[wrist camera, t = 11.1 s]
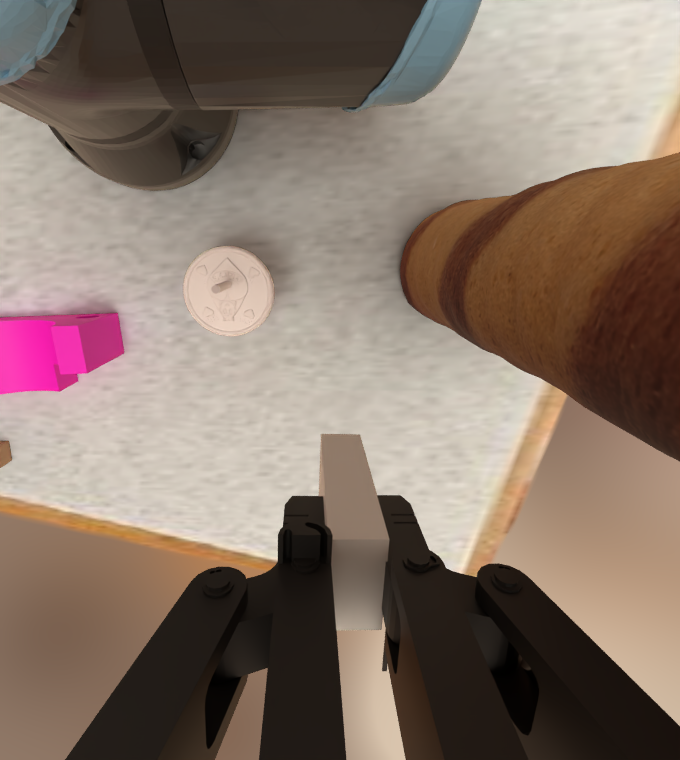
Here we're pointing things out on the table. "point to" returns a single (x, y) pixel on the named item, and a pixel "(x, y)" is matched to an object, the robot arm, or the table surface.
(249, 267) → the smoothie
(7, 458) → the stop board
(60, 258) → the table surface
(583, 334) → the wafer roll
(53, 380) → the toy block
